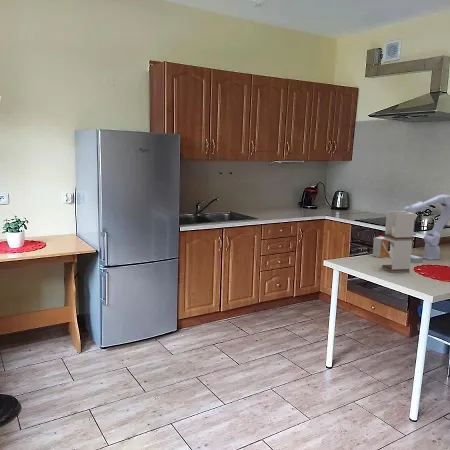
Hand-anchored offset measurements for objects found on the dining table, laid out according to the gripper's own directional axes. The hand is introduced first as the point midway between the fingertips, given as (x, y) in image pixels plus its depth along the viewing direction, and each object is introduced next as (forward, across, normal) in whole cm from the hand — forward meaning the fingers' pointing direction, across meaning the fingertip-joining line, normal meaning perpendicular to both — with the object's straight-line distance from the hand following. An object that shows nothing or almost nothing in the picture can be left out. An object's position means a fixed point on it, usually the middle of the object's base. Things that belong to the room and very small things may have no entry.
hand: (405, 244), depth 292 cm
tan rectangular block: (+9, -5, -7) cm, 13 cm away
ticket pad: (+9, +7, -2) cm, 12 cm away
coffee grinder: (+10, +24, -30) cm, 40 cm away
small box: (+10, -8, -14) cm, 19 cm away
